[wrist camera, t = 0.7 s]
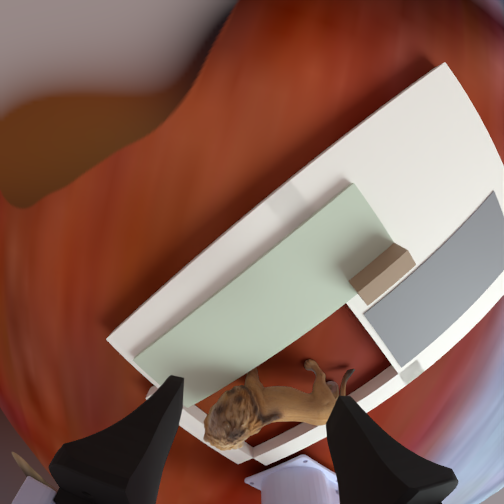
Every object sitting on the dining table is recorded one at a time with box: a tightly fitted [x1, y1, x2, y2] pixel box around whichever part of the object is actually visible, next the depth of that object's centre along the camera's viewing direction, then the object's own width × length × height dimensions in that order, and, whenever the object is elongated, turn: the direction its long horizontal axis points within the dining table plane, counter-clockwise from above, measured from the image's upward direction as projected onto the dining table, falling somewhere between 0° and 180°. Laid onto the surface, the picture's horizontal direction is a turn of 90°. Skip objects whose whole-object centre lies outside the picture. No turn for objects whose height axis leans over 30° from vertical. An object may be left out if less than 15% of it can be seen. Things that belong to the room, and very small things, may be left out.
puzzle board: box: [106, 63, 504, 466], centre depth 21 cm, size 20×36×2 cm, turn 130°
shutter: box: [133, 183, 416, 408], centre depth 19 cm, size 6×20×3 cm, turn 130°
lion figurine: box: [203, 359, 355, 451], centre depth 20 cm, size 12×4×7 cm, turn 97°
